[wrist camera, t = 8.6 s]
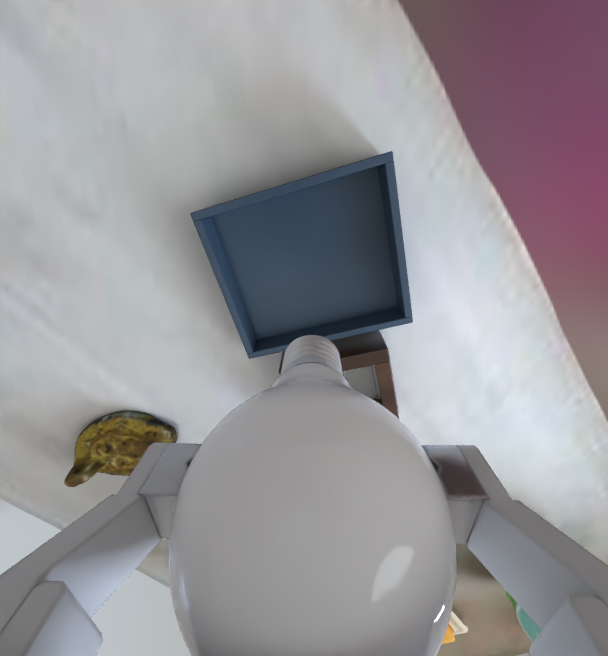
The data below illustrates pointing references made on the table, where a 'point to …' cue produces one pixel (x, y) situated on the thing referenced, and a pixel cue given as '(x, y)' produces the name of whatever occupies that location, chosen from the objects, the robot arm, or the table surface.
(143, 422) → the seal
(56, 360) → the table surface
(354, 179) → the tray
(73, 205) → the table surface
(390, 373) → the stand
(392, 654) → the lightbulb
